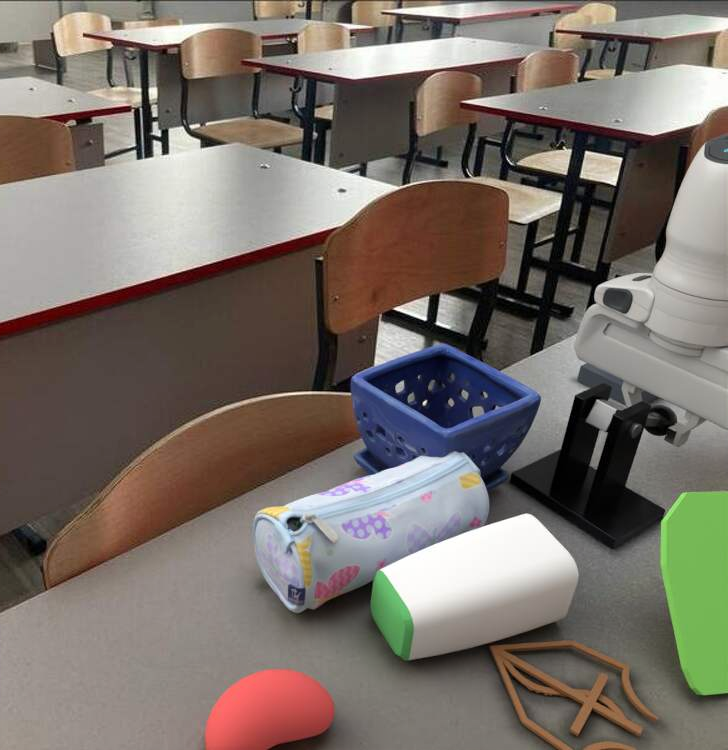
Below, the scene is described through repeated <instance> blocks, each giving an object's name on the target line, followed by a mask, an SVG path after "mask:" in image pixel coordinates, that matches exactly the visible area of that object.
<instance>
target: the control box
mask: <svg viewBox="0 0 728 750" xmlns="http://www.w3.org/2000/svg"><path fill="white" fill-rule="evenodd" d="M576 381H577V382H578V383H581V384H583V385H584V386H587V387H589V388H593V387H595V386H597V385H599V384H602V383H605V384H607V385H609V386H611V387H612V390H611V393H610V397H609V398H612V399H613V400H615V401H618V402H619V403H620V404H623V405H625V406H626V403H625V400H624V396H623V392H622V389H621V388H622V385H623V382H624V381H623V380H621V379H619V378H617V377H615V376H613V375H611V374H609V373H607V372H604V371H602V370H600V369H598V368H596V367H594V366H592V365H590V364H588V363H586V362H585V363H584V364H582V365H580V368H579V371H578V375H577V378H576ZM641 396H642V401H643V402H645V403H647V404H649V403H651V402H652V401H654V400H657V399H660V398H659V397H657V396H655V395H653V394H651V393H649V392H647V391H644V390H641Z"/></svg>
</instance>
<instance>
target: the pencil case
mask: <svg viewBox="0 0 728 750" xmlns="http://www.w3.org/2000/svg"><path fill="white" fill-rule="evenodd" d="M480 475H481V473H480V470H479V469H478V467H477V466H476V465H475V464H474V463H473V462H472V460H471V459H470V458H469V457H468V456H467V455H466V454H465V453H463V452H462V453H460V452H456V451H454V452H451V453H450V454H448V455H447V456H445V457H442V458H440V457H428V456H419V457H418V458H416V459H414V460H413V461H410V462H407V463H404V464H402V465H400V466H398V467H394V468H390V469H386V470H384V471H381V472H379V473H377V474H374V475H369V474H368V475H365V476H362V477H358V478H356V479H353V480H350V481H348V482H345V483H343V484H341V485H338V486H335V487H333V488H331V489H329V490H327V491H323V492H319V493H318V492H317V493H314V494H311V495H307V496H305V497H302V498H298V499H296V500H294V501H292V502H289V503H286V504H285V505H283V506H270V507H265V508H262V509H261V510H258V511H257V512H256V513H255V515H254V520H253V524H252V537H253V544H254V552H255V553H254V554H255V557H256V560H257V563H258V566H259V569H260V572H261V574H262V576H263V578H264V579H265V581H266V582H267V584H268V585H269V586H270V588H271V590H272V591H273V592H274V593H275V594H276V596H277V597H278V599H279V600H280V601H281V603H282V604H283V605H284V606H285V607H286V608H287V609H288V610H289V611H290V612H293V613H295V614H299V613H300V614H301V613H302V612H304V611H306V610H307V609H310V610H316V609H317V608H319V607H320V606H322V605H323V604H325V603H326V602H328V601H329V600H332V599H335V598H336V597H338V596H342V595H344V594H346V593H349V592H352V591H354V590H356V589H358V588H361V587H363V586H365V585H367V584H369V583H371V582H373V581H374V579H375V576H376V573H377V571H378V570H380V569H382V568H384V567H386V566H388V565H390V564H392V563H394V562H396V561H398V560H401V559H403V558H405V557H407V556H409V555H411V554H414V553H416V552H418V551H420V550H423V549H425V548H427V547H430V546H432V545H434V544H437V543H439V542H442V541H445V540H447V539H450V538H453V537H455V536H458V535H461V534H463V533H466V532H469V531H472V530H475V529H478V528H481V527H484V526H485V524H486V523H487V520H488V516H489V513H490V497H489V493H488V492H487V490H486V487H485V484H484V482H483V480H482V478H481V477H480Z"/></svg>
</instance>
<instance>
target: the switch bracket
mask: <svg viewBox="0 0 728 750" xmlns="http://www.w3.org/2000/svg"><path fill="white" fill-rule="evenodd" d="M611 390H612V387H611V386H609V385H607V384H605V383H602V384H599V385H597V386H595V387H593V388H591V387H589V388H588V389H586V390H584V391H581V392H579V393H577V394H575V395H574V398H573V401H572V405H571V409H570V413H569V417H568V421H567V424H566V428H565V431H564V436H563V438H562V439H563V440H562V443H561V447H560V449H558V450H556V451H553V452H552V453H550V454H548V455H546V456H543V457H541V458H539V459H537V460H535V461H533V462H531V463H529V464H527V465H525V466H523V467H521V468H519V469H517V470H514V471H513V472H511V473H510V476H509V483H511V484H512V485H513V486H515V487H516V488H518V489H519V490H521V491H522V492H524V493H526V494H527V495H528V496H530V497H532V498H533V499H535V500H536V501H538V502H540V503H541V504H542V505H543V506H545V507H547V508H548V509H549V510H551V511H553V512H555V513H556V514H558V515H559V516H561V517H562V518H564V519H565V520H567V521H568V522H570V523H571V524H573V525H574V526H576V527H578V528H579V529H581V530H582V531H584V532H586V533H587V534H588V535H590V536H592V537H593V538H594V539H596V540H597V541H599V542H601V543H602V544H604V545H605V546H607V547H608V548H610V549H611V550H614V549H616V548H617V547H618V546H620V545H622V544H624V543H625V542H627V541H629V540H630V539H632V538H634V537H635V536H637V535H639V534H640V533H642V532H643V531H645V530H647V529H648V528H651V526H653V525H655V524H657V523H659V522H661V521H662V520H663V519H664V517H665V515H666V514H665V513H666V509H665V508H664V507H662V506H660V505H659V504H657V503H655V502H653V501H652V500H650V499H649V498H646V497H645V496H643V495H641V494H639V493H638V492H636V491H635V490H633V489H631V488H630V487H628V486H627V483H628V480H629V477H630V473H631V470H632V468H633V463H634V461H635V458H636V455H637V452H638V449H639V446H640V442H641V439H642V436H643V433H644V431H645V428H644V427H645V424H646V421H647V418H648V415H649V412H650V409H651V407H652V405H651V404H649V403H645V402H643V401H641V402H639V403H636V404H634V405H632V406H630V407H628V408H627V407H625V408H626V409H624V410H622V411H619V412H617V413H615V414H613V416H612V420H611V423H610V426H609V430H608V433H606V437H605V441H604V443H603V447H602V451H601V453H600V456H599V460H598V463H597V467H596V468H595V467H593V466H591V462H592V459H593V455H594V451H595V448H596V444H597V441H598V438H599V435H600V432H601V430H600V429H598V428H596V427H594V426H592V425H590V424H588V423H587V422H586V419H587V417H588V415H589V413H590V411H591V409H592V407H593V405H594V403H595V401H596V400H597V399H598V400H607V401H610V398H611V397H610V393H611Z"/></svg>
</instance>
